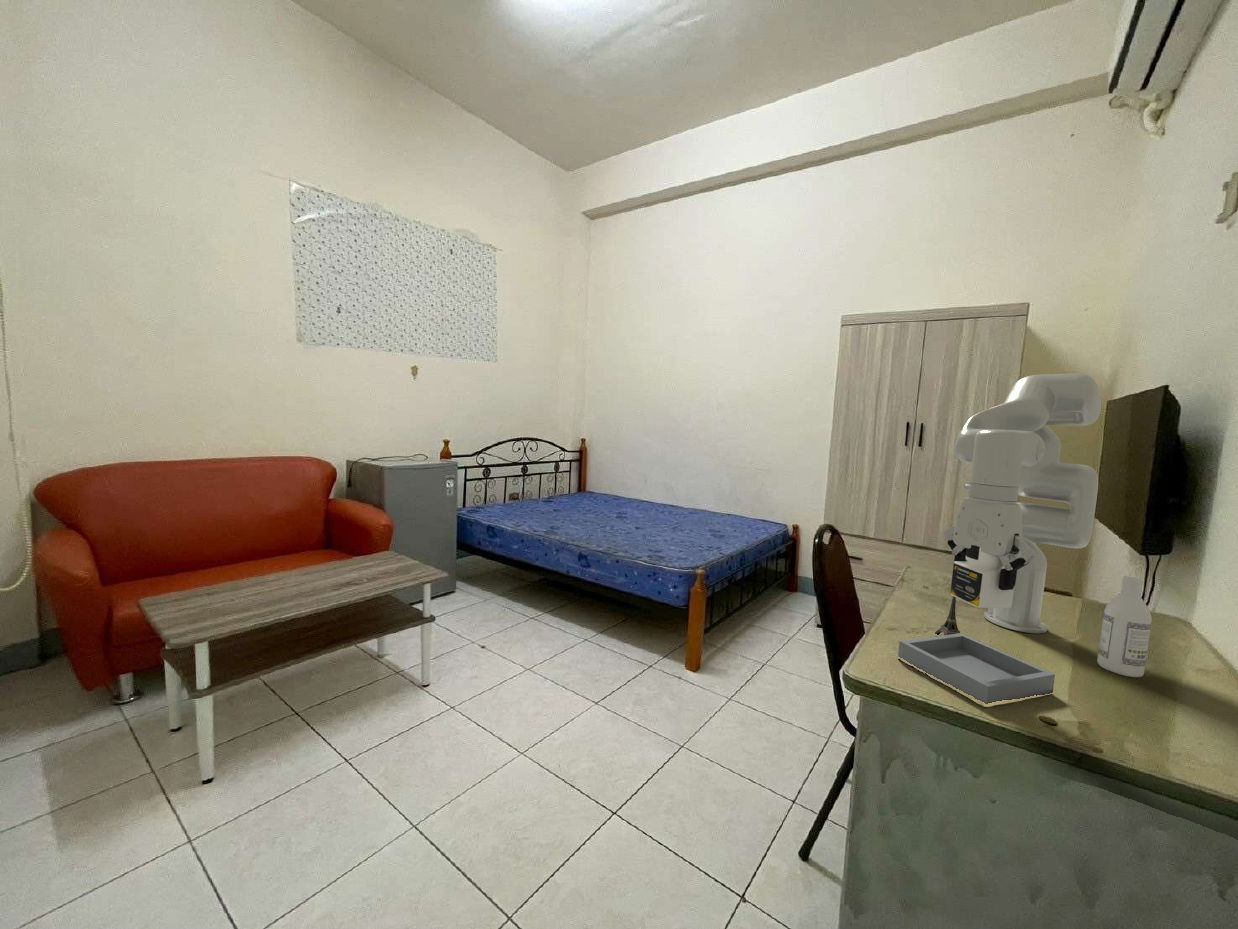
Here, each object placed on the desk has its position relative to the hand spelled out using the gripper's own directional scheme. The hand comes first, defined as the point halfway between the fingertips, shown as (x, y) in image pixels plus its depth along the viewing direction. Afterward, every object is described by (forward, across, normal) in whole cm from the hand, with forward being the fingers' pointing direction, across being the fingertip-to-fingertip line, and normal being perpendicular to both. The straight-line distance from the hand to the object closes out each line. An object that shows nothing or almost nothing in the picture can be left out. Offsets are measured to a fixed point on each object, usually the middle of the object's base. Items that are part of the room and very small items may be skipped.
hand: (982, 581), depth 95 cm
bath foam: (+20, +6, +36) cm, 41 cm away
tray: (+19, 0, 0) cm, 19 cm away
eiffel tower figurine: (+20, -13, +12) cm, 27 cm away
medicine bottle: (+4, 0, 0) cm, 4 cm away
